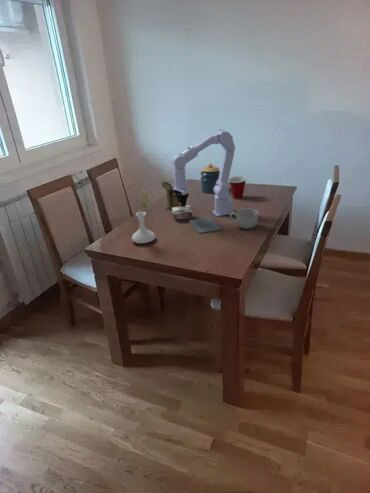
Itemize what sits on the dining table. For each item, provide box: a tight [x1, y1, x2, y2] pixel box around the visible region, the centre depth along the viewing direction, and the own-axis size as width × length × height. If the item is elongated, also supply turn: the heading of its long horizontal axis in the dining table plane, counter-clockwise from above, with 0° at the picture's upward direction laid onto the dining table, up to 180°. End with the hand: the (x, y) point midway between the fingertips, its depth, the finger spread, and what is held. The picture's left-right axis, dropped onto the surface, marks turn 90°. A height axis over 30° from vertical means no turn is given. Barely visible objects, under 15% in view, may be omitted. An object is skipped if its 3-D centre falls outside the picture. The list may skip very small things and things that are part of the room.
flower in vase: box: [131, 187, 156, 244], centre depth 171 cm, size 13×11×25 cm
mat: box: [188, 216, 222, 235], centre depth 188 cm, size 18×12×1 cm, turn 15°
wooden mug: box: [160, 181, 181, 211], centre depth 210 cm, size 9×14×18 cm, turn 157°
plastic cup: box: [228, 175, 247, 200], centre depth 222 cm, size 11×11×12 cm
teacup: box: [229, 207, 259, 230], centre depth 182 cm, size 14×11×8 cm
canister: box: [200, 163, 220, 194], centre depth 237 cm, size 13×13×18 cm
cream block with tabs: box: [171, 204, 193, 222], centre depth 197 cm, size 10×5×6 cm, turn 105°
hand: (181, 204), depth 195 cm, fingers open, 7 cm apart
